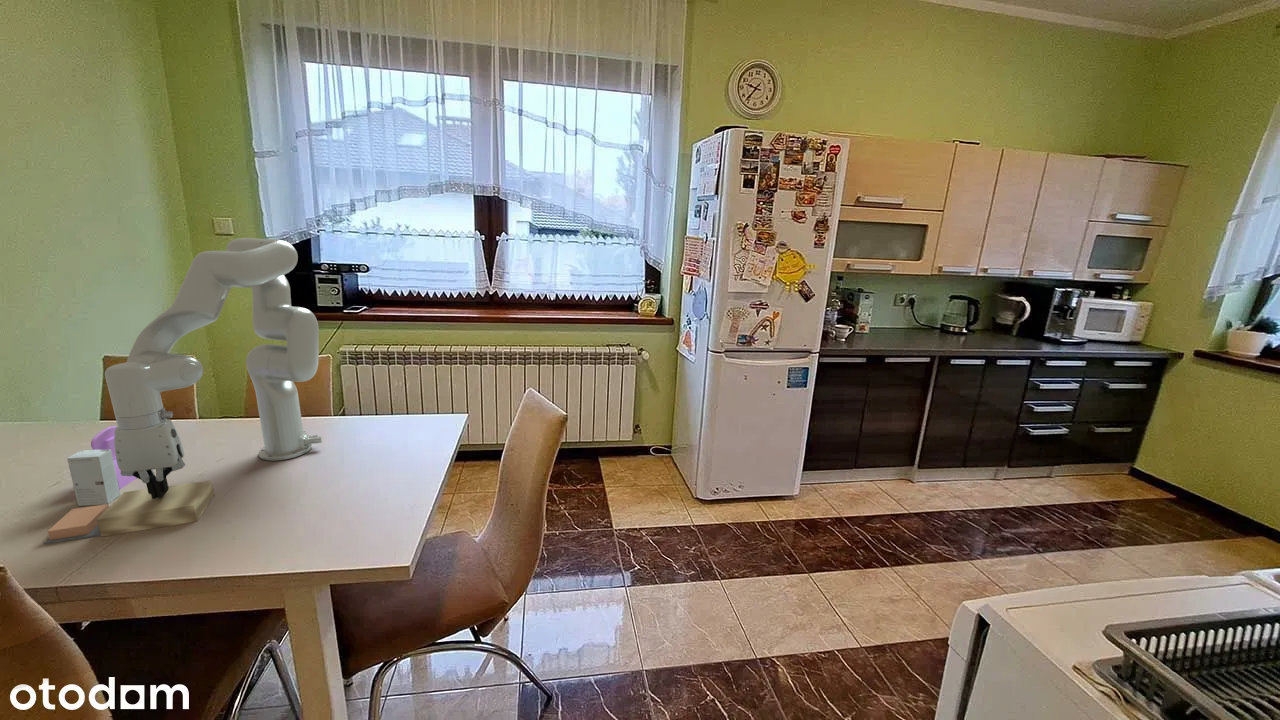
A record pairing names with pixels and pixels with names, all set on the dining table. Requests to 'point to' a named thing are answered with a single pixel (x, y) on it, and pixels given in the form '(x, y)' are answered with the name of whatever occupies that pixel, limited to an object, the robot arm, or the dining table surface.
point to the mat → (92, 534)
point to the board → (156, 508)
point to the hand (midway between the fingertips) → (159, 495)
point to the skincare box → (94, 477)
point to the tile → (77, 522)
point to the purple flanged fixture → (106, 442)
